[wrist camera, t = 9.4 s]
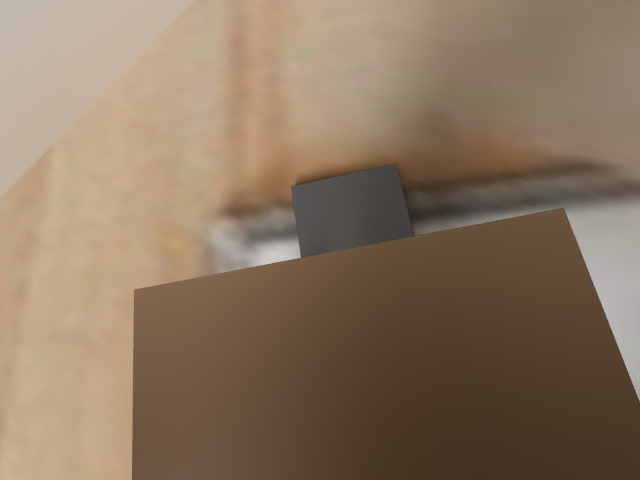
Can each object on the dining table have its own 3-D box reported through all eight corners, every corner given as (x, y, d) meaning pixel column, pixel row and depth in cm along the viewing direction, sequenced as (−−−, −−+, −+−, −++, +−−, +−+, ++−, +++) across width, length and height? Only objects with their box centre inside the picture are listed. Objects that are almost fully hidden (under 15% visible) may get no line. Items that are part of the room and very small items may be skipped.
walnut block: (449, 425, 14) (849, 936, 2) (334, 440, 15) (127, 904, 3) (421, 307, 16) (563, 207, 4) (317, 324, 17) (134, 289, 4)
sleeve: (477, 438, 18) (500, 462, 14) (316, 458, 19) (303, 484, 15) (408, 165, 22) (413, 135, 19) (282, 192, 23) (265, 168, 20)
